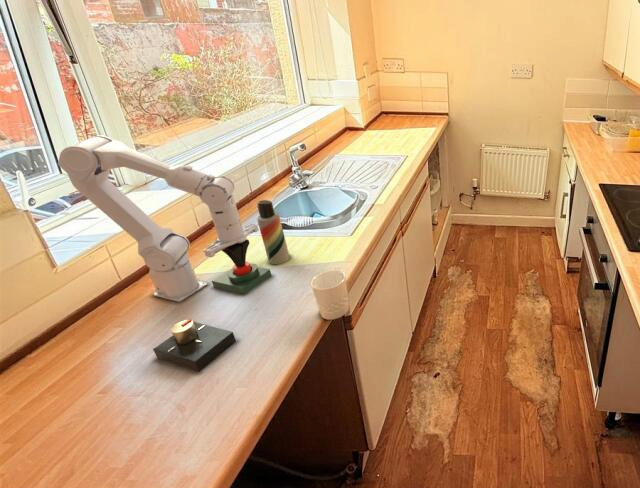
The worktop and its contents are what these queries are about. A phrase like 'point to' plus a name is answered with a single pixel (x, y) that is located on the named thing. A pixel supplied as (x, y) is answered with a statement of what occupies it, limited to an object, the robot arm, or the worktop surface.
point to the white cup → (331, 294)
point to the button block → (242, 280)
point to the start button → (242, 269)
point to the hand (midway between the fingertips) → (240, 265)
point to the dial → (184, 332)
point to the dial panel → (196, 348)
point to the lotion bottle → (272, 233)
